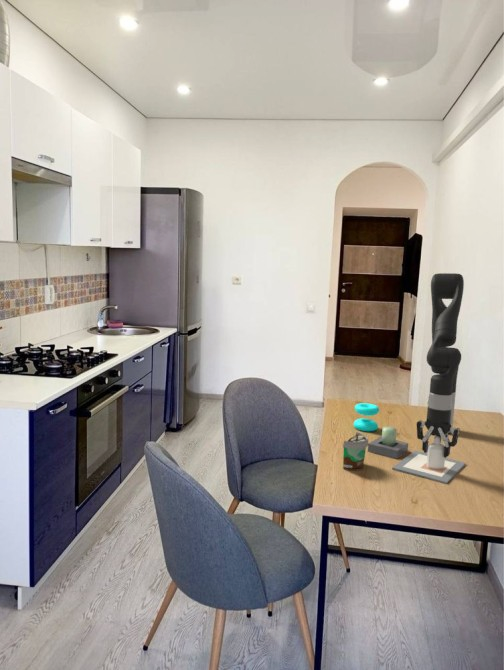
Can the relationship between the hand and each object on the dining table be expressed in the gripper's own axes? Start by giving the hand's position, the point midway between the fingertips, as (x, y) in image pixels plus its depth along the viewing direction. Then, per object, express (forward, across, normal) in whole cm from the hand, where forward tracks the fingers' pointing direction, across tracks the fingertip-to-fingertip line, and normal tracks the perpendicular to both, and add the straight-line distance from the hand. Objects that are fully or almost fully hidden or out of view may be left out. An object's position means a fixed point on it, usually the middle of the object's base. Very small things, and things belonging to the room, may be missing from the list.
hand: (435, 454), depth 177 cm
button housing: (+5, +19, -6) cm, 21 cm away
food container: (+6, +21, +16) cm, 27 cm away
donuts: (+6, +37, -26) cm, 46 cm away
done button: (+3, +19, -6) cm, 20 cm away
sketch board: (+5, +2, -1) cm, 6 cm away
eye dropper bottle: (+5, 0, 0) cm, 5 cm away
